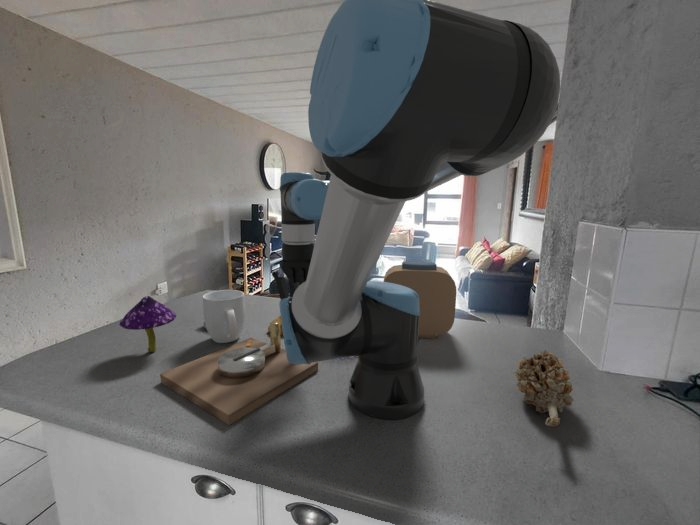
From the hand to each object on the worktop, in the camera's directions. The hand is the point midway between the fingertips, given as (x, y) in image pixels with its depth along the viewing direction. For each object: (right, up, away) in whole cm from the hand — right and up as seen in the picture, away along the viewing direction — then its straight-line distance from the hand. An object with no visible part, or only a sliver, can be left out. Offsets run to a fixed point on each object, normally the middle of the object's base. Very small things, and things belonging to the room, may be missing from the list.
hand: (300, 338), depth 80 cm
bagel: (-7, -3, +21) cm, 22 cm away
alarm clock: (+32, -3, +20) cm, 38 cm away
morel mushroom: (+48, -10, -18) cm, 53 cm away
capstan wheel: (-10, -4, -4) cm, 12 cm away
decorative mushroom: (-39, -5, +6) cm, 40 cm away
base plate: (-12, -7, -6) cm, 15 cm away
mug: (-23, -4, +14) cm, 27 cm away
